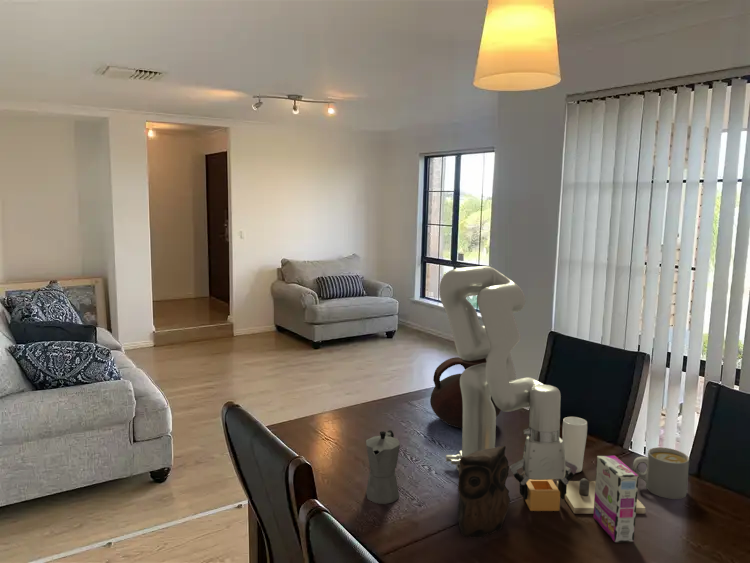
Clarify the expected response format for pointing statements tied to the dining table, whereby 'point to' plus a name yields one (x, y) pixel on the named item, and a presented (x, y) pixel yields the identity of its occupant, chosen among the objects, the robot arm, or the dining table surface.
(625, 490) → the candy bar box
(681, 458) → the coffee mug
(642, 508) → the board
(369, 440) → the coffeepot
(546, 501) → the small open box
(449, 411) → the jug
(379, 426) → the dining table surface
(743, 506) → the dining table surface
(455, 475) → the dining table surface
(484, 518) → the owl
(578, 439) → the drinking glass
